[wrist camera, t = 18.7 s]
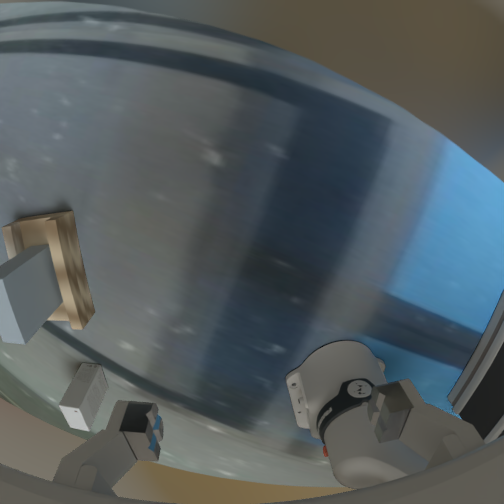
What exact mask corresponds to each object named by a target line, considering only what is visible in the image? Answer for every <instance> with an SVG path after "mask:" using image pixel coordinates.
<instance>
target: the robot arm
mask: <svg viewBox="0 0 504 504" xmlns="http://www.w3.org/2000/svg"><path fill="white" fill-rule="evenodd" d="M384 370H385V363H384V361H382V360H381V359H379V358H376V357H375V356H374V355H373V354H372V352H371V351H370V349H369V348H368V347H367V346H365V345H363V344H361V343H359V342H355V341H339V342H334V343H331V344H328V345H326V346H324V347H322V348H320V349H318V350H317V351H315V352H314V353H312V354H311V355H310V356H309V357H308V358H307V359H306V360H305V361H304V363H303V364H302V365H301V366H300V367H299V368H297V369H295V370H293V371H292V372H290V373H289V374H288V375H287V376H286V378H285V379H286V383H287V387H288V391H289V395H290V399H291V403H292V406H293V410H294V414H295V418H296V422H297V424H298V426H299V427H302V428H307V429H310V432H311V436H312V437H314V438H317V439H321V440H322V442H323V443H324V444H325V445H326V446H324V447H323V453H324V456H325V457H327V456H329V459H330V463H331V467H332V471H333V474H334V476H335V478H336V479H337V480H338V482H340V483H341V484H342V485H344V486H346V487H348V488H352V489H357V490H353V491H348V492H343V493H338V494H333V495H328V496H321V497H315V498H309V499H302V500H294V501H285V502H275V503H262V504H504V435H503V436H501V437H499V438H497V439H495V440H493V441H491V442H489V443H487V444H485V442H484V441H483V439H482V438H481V436H480V435H479V433H478V432H477V430H476V429H475V427H474V426H473V425H472V424H470V423H468V422H466V421H464V420H462V419H459V418H457V417H455V416H453V415H451V414H449V413H447V412H445V411H443V410H441V409H439V408H437V407H435V406H433V405H431V404H425V402H424V401H423V399H422V397H421V396H420V394H419V393H418V391H417V390H416V388H415V387H414V385H413V384H412V382H411V380H409V379H404V380H400V381H395V382H391V383H387V381H386V378H385V376H384V374H383V372H384ZM293 383H294V384H293ZM162 439H163V422H162V418H161V417H160V416H159V415H158V407H157V404H156V403H149V402H136V401H122V400H118V401H117V402H116V404H115V406H114V409H113V411H112V414H111V417H110V419H109V422H108V425H107V427H106V430H101V431H100V432H98V433H97V434H95V435H94V436H93V437H91V438H90V439H89V440H87V441H86V442H85V443H83V444H82V445H80V446H79V447H77V448H76V449H75V450H73V451H72V452H71V453H69V454H68V455H66V456H65V457H63V458H62V459H61V462H60V464H59V467H58V469H57V472H56V474H55V476H54V479H53V481H49V480H45V479H42V478H39V477H36V476H33V475H30V474H27V473H24V472H21V471H19V470H16V469H13V468H10V467H8V466H5V465H3V464H1V463H0V504H175V503H163V502H152V501H144V500H136V499H129V498H123V497H118V496H117V495H116V494H115V492H114V491H113V490H112V489H111V488H112V487H113V486H114V485H115V484H116V483H117V482H118V481H119V480H120V479H121V478H122V477H123V476H124V475H125V473H126V472H128V471H129V469H130V468H131V467H132V466H133V465H134V464H135V463H136V462H137V460H142V461H143V460H144V461H158V460H159V454H160V449H161V448H160V445H159V442H160V441H161V440H162Z"/></svg>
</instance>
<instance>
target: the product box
mask: <svg viewBox="0 0 504 504" xmlns="http://www.w3.org/2000/svg"><path fill="white" fill-rule="evenodd" d="M62 303H63V298H62V295H61V291H60V287H59V284H58V280H57V276H56V272H55V268H54V264H53V260H52V256H51V251H50V247H49V244H47V245H36V246H30V247H29V248H27V249H25V250H24V251H22V252H21V253H19V254H18V255H16V256H15V257H13V258H12V259H10V260H9V261H7V262H6V263H4V264H3V265H1V266H0V335H1V338H2V340H3V342H8V343H16V344H25V345H26V343H27V342H28V341H29V340H30V339H31V337H32V336H33V335H34V334H35V333H36V332H37V330H38V329H39V328H40V327H41V326H42V325H43V324H44V322H45V321H46V320H47V319H48V318H49V317H50V316H51V315H52V314H53V312H54V311H55V310H56V309H57V308H58V307H59V306H60V305H61V304H62Z"/></svg>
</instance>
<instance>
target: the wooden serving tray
mask: <svg viewBox="0 0 504 504" xmlns="http://www.w3.org/2000/svg"><path fill="white" fill-rule="evenodd" d="M2 231H3V236H4V240H5V245H6V249H7V253H8V257H9V260H10V259H12V258H13V257H15V256H16V255H18V254H19V253H21V252H22V251H24V250H25V249H27V248H29V247H30V246H36V245H47V244H49V247H50V251H51V256H52V260H53V264H54V268H55V272H56V276H57V280H58V284H59V287H60V291H61V295H62V298H63V303H62V304H61V305H60V306H59V307H58V308H57V309H56V310H55V311H54V312H53V314H52V315H51V316H50V317H49V318H48V319H47V320H59V321H70V324H71V327H72V329H83V328H84V327H85V326H86V324H87V323H88V321H89V320H90V319H91V317H92V316H93V314H94V313H95V309H94V306H93V302H92V298H91V294H90V291H89V287H88V283H87V278H86V274H85V270H84V265H83V261H82V256H81V251H80V246H79V241H78V236H77V231H76V225H75V219H74V213H73V211H67V212H60V213H53V214H46V215H39V216H32V217H26V218H20V219H18V220H16V221H14V222H12V223H10V224H8V225H6V226H4V227H2Z"/></svg>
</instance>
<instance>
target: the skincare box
mask: <svg viewBox="0 0 504 504" xmlns="http://www.w3.org/2000/svg"><path fill="white" fill-rule="evenodd" d="M107 389H108V385H107V383H106V380H105V377H104V374H103V370H102V367H101V365H98V364H89V363H82V364H81V366H80V368H79V369H78V371H77V373H76V375H75V376H74V378H73V380H72V382H71V383H70V385H69V387H68V389H67V391H66V393H65V394H64V396H63V398H62V400H61V402H60V404H59V407H60V409H61V411H62V412H63V414H64V416H65V418H66V420H67V422H68V424H69V426H70V427H71V428H76V429H81V430H85V431H90V429H91V427H92V424H93V422H94V419H95V417H96V414H97V412H98V410H99V407H100V405H101V403H102V400H103V398H104V396H105V393H106V391H107Z"/></svg>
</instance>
